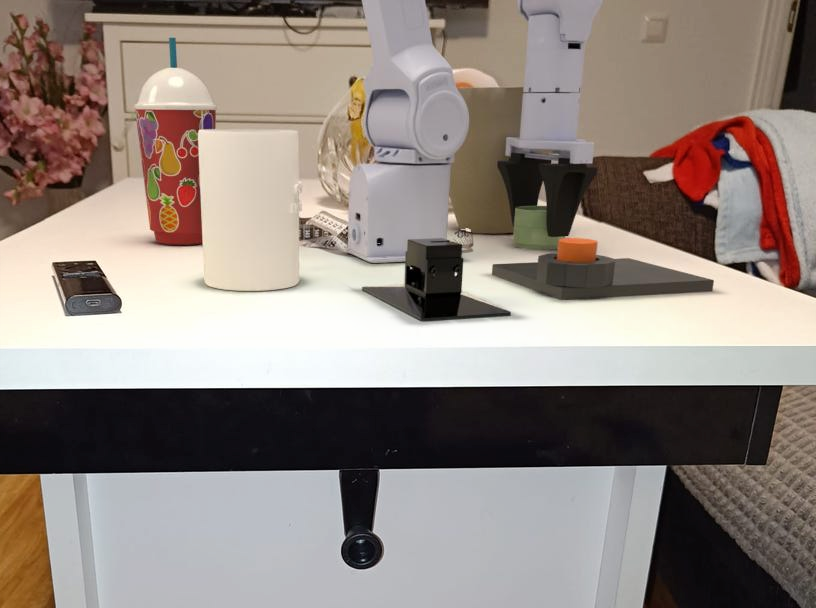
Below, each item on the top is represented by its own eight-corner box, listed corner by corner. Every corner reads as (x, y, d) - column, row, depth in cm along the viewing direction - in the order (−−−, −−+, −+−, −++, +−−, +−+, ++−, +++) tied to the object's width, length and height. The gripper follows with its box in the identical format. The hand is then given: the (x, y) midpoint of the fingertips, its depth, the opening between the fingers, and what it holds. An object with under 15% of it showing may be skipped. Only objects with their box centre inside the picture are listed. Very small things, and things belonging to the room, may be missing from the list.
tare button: (568, 266, 72) (571, 243, 71) (549, 260, 75) (551, 238, 74) (602, 265, 73) (605, 242, 72) (582, 259, 76) (584, 237, 75)
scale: (559, 302, 71) (562, 265, 70) (486, 275, 82) (488, 243, 81) (716, 293, 75) (722, 258, 74) (627, 268, 86) (631, 238, 85)
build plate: (512, 318, 66) (517, 252, 65) (418, 325, 64) (421, 257, 62) (440, 286, 77) (443, 228, 75) (357, 291, 75) (358, 232, 73)
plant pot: (479, 220, 122) (487, 88, 116) (576, 231, 112) (590, 87, 106) (400, 229, 112) (405, 86, 106) (498, 242, 102) (509, 85, 96)
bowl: (527, 251, 96) (531, 211, 95) (503, 244, 101) (506, 206, 99) (573, 249, 98) (577, 210, 96) (547, 242, 103) (551, 205, 101)
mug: (283, 265, 86) (281, 127, 82) (311, 289, 76) (311, 131, 71) (194, 268, 84) (187, 127, 80) (210, 292, 74) (203, 131, 69)
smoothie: (237, 240, 102) (231, 39, 94) (186, 249, 95) (175, 33, 88) (179, 234, 106) (169, 41, 98) (127, 243, 99) (111, 36, 92)
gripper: (627, 93, 88) (610, 239, 94) (550, 94, 101) (539, 222, 106) (562, 92, 86) (548, 241, 92) (491, 93, 99) (483, 224, 104)
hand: (539, 231), depth 99 cm, fingers open, 7 cm apart
